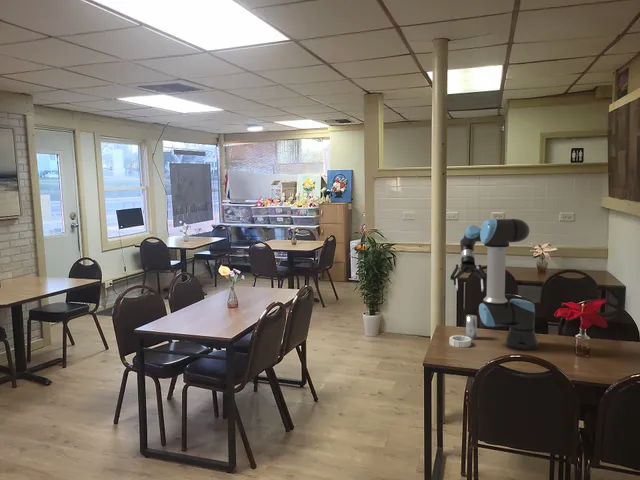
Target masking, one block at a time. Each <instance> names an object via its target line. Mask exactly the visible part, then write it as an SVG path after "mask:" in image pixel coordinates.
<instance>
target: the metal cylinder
mask: <svg viewBox="0 0 640 480" xmlns="http://www.w3.org/2000/svg"><path fill="white" fill-rule="evenodd" d="M477 326H478V316H477V315H475V314H467V315H465V336H467V337H470V338H471V341H472V340H473V341H474V340H477V333H478V332H477V331H478V330H477V329H478V327H477Z"/></svg>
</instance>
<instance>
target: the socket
mask: <svg viewBox="0 0 640 480" xmlns="http://www.w3.org/2000/svg"><path fill="white" fill-rule="evenodd" d="M449 345H450V346H452V347H455V348H469V347H471V346H472V340H471V338H470V337H467V336H466V335H458V334H457V335H451V336H449Z"/></svg>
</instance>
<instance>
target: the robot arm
mask: <svg viewBox="0 0 640 480" xmlns="http://www.w3.org/2000/svg"><path fill="white" fill-rule="evenodd" d="M529 235H530V227H529V225H528V223H527V222H525V221H524V220H522V219H519V218H503V219H502V218H500V219H499V218H497V219H496V218H494V219H487V220H485V221H484V222H483V223H482V225H481V227H479V226H477V225H474V224H470V225H469V226H467V228H466V230H465V231H464V235H463V236H461V237H460V241H459V244H460V263H461V265H459V264H455V268H454V270H453V271H452V273H451V275H450V280H451V281H453V286H455V291H456V292H457V291H458V290H459V285H458V284H459V283H458V279H460V277H462V275H464V274H474V275H475V276H476V277H477V278H479V280H480V286H481V287H480V288H481V290H480V291H481V292H484V286H486V296H485V297H484V298H483V301H482V302H481V303H480V304H479V306H478V313H479V318H480V320H481V322H482V324H483V325H484V326H486V327H495V328H496V327H508V326H509V330H508V333H507V335H506V338H505V345H506V346H507V347H510V348H512V349H517V350H525V351H527V350H530V351H531V350H535V349H537V348H538V347H539V346H538V345H539V343H538V340H537V337H536V336H537V335H536V332H535V317H536V308H535V304H534V303H533V302H532V301H528V300H526V299H521V298H511V299H510V300H508V299H507V298H506V295H505V294H506V293H505V292H506V260H507V259H506V250H507V249H509V248H510V243H517V242H522V241H524V240H526V239H527V238H528V237H529ZM477 242H479V243H482V244H484V247H485V248H486V250H487V255H486V256H487V257H486V259H487V261H486V262H487V263H486V272H485V270H484V269H483V267H482V265H481V264H478V265H476V262H475V261H476V260H475V258H476V257H475V245H476V243H477ZM459 270H460V271H459Z"/></svg>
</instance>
